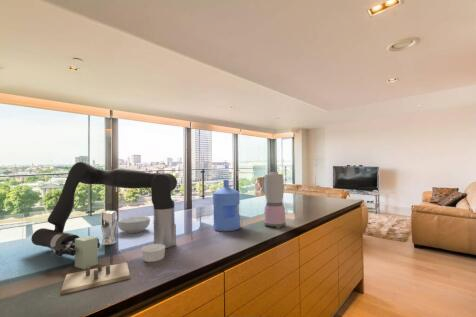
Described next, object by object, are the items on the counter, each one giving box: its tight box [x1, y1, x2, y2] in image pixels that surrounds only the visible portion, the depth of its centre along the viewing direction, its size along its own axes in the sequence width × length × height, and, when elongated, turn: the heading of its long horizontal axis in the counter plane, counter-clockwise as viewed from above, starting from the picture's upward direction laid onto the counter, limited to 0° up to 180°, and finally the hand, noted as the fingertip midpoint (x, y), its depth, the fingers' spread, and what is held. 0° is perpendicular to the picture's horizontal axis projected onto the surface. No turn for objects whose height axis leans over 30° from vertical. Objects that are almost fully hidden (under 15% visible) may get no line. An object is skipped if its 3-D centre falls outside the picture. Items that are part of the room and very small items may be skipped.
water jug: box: [212, 179, 241, 232], centre depth 137 cm, size 16×16×28 cm
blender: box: [261, 171, 287, 229], centre depth 141 cm, size 16×12×32 cm
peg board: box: [60, 261, 131, 295], centre depth 77 cm, size 18×12×4 cm, turn 120°
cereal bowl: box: [117, 216, 151, 234], centre depth 134 cm, size 17×17×7 cm
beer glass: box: [100, 210, 118, 246], centre depth 114 cm, size 7×7×15 cm
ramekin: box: [141, 243, 166, 263], centre depth 93 cm, size 9×9×4 cm
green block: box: [74, 235, 99, 270], centre depth 88 cm, size 6×5×10 cm
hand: (87, 248), depth 88 cm, fingers open, 8 cm apart
